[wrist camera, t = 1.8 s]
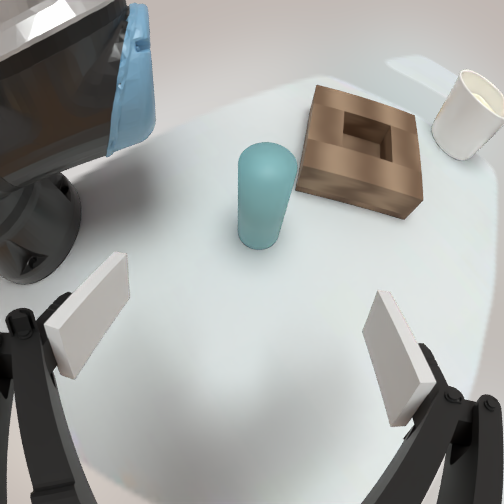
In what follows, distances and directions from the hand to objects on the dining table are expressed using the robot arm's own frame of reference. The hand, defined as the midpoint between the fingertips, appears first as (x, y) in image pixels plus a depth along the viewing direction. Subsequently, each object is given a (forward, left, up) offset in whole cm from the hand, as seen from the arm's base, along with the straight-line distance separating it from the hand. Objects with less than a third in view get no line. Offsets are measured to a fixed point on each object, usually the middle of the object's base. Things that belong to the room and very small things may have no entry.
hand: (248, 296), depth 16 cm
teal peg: (-1, +11, -16) cm, 19 cm away
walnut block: (+9, +24, -16) cm, 30 cm away
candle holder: (+26, +35, -16) cm, 46 cm away
